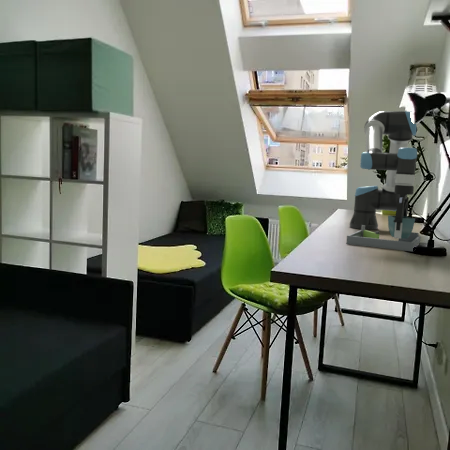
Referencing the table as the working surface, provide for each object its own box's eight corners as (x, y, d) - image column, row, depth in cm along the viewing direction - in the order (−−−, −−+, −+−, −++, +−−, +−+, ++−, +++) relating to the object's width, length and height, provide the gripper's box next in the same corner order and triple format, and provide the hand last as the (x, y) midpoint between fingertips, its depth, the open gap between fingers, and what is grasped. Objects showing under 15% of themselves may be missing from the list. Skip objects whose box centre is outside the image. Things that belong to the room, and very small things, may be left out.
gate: (365, 237, 220) (366, 228, 220) (379, 242, 208) (380, 231, 207) (362, 237, 220) (363, 227, 219) (375, 242, 208) (376, 231, 207)
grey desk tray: (359, 237, 223) (360, 224, 222) (420, 244, 210) (421, 230, 210) (346, 243, 202) (347, 229, 201) (412, 251, 189) (414, 236, 188)
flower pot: (413, 240, 198) (415, 218, 196) (392, 238, 198) (394, 217, 197) (406, 237, 206) (408, 216, 205) (385, 236, 206) (387, 215, 205)
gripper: (399, 184, 211) (395, 233, 214) (390, 184, 191) (385, 238, 194) (417, 185, 208) (412, 234, 210) (410, 185, 187) (405, 240, 190)
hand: (399, 236), depth 202 cm, fingers closed on flower pot, 11 cm apart
